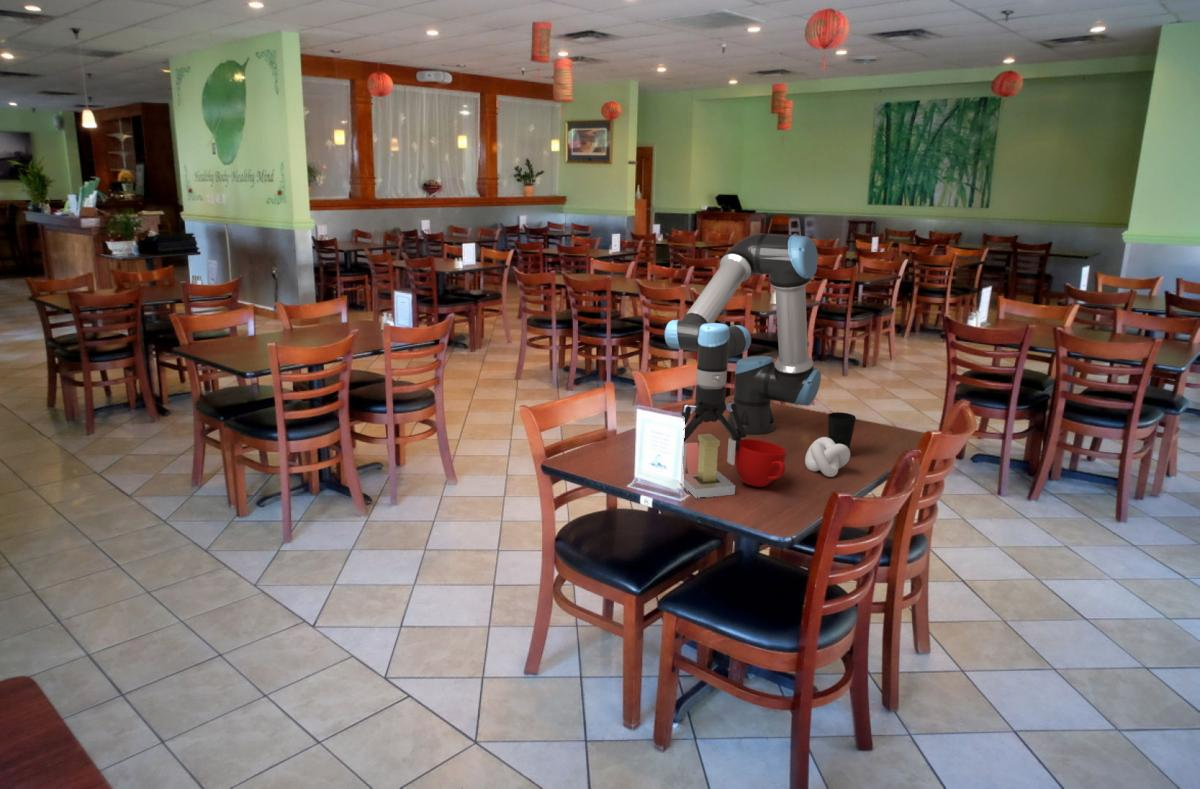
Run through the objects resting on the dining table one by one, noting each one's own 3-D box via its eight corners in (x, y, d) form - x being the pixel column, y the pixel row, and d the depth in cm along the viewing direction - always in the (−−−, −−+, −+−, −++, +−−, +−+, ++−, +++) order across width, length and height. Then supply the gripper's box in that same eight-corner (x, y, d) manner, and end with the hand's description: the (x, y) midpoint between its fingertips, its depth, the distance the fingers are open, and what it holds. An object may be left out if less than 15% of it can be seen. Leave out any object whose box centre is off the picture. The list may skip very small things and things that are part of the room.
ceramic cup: (756, 497, 202) (764, 459, 200) (720, 473, 217) (727, 438, 214) (798, 497, 207) (806, 460, 205) (760, 474, 222) (767, 439, 220)
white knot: (841, 483, 216) (844, 451, 213) (796, 475, 221) (799, 444, 219) (850, 470, 225) (854, 440, 223) (808, 463, 231) (810, 433, 229)
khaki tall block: (695, 485, 213) (697, 434, 209) (708, 484, 214) (710, 433, 210) (704, 493, 207) (707, 441, 204) (717, 492, 208) (720, 440, 205)
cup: (853, 460, 233) (857, 420, 230) (825, 458, 235) (829, 418, 232) (850, 451, 241) (854, 413, 237) (824, 449, 242) (827, 411, 239)
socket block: (678, 483, 214) (679, 474, 213) (716, 479, 217) (717, 470, 216) (694, 498, 204) (695, 489, 203) (734, 494, 207) (735, 485, 206)
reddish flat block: (681, 445, 219) (683, 443, 218) (697, 443, 221) (699, 441, 219) (688, 481, 216) (690, 479, 215) (704, 479, 217) (706, 478, 216)
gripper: (670, 391, 196) (666, 474, 202) (763, 386, 203) (757, 466, 209) (659, 384, 203) (656, 464, 209) (749, 379, 210) (744, 457, 216)
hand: (706, 465), depth 209 cm, fingers open, 13 cm apart
